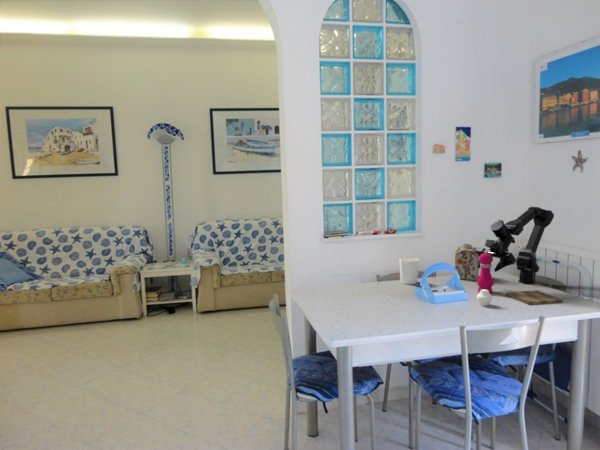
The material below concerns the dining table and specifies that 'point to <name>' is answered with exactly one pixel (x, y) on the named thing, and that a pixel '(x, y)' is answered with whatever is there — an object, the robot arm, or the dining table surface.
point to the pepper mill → (485, 272)
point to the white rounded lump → (484, 297)
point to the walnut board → (534, 297)
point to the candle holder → (408, 270)
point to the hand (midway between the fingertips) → (486, 269)
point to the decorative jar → (467, 262)
